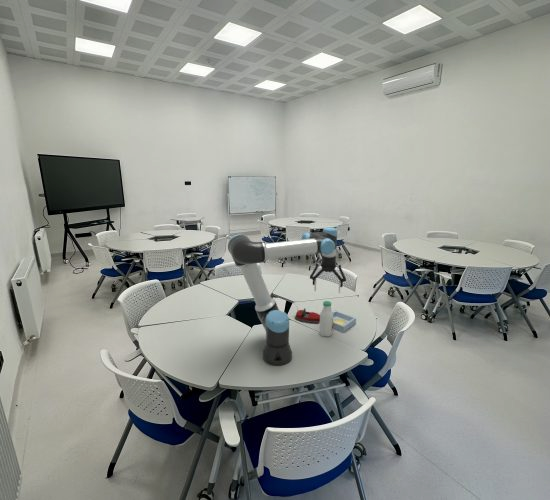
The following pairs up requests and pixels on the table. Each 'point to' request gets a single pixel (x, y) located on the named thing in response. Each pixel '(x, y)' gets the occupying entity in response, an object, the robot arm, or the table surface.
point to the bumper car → (307, 316)
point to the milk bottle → (326, 320)
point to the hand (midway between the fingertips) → (327, 291)
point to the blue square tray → (342, 321)
